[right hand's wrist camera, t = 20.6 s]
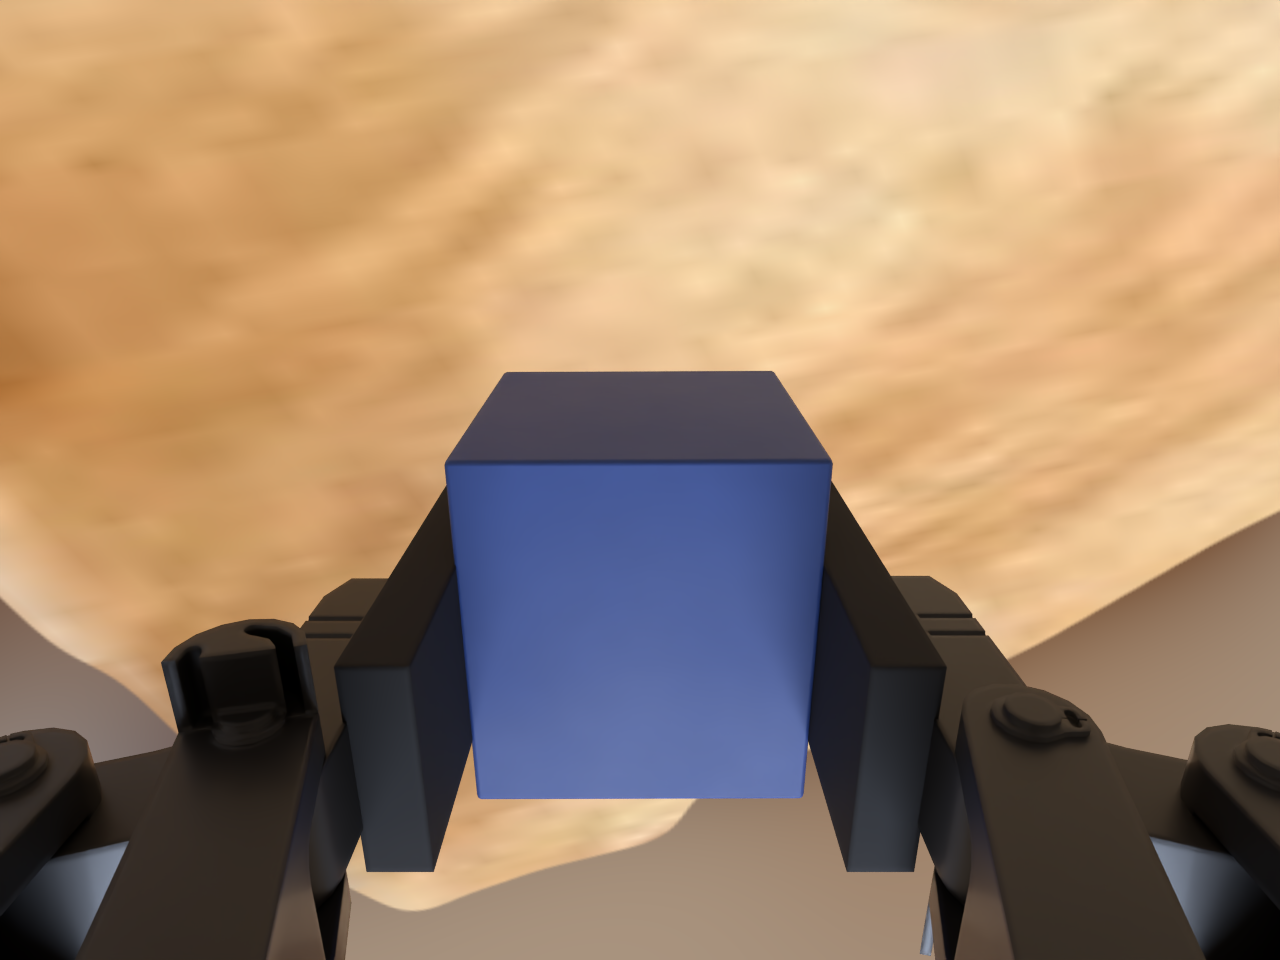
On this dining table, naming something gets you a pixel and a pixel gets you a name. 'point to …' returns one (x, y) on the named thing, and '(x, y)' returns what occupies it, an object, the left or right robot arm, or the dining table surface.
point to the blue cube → (639, 584)
